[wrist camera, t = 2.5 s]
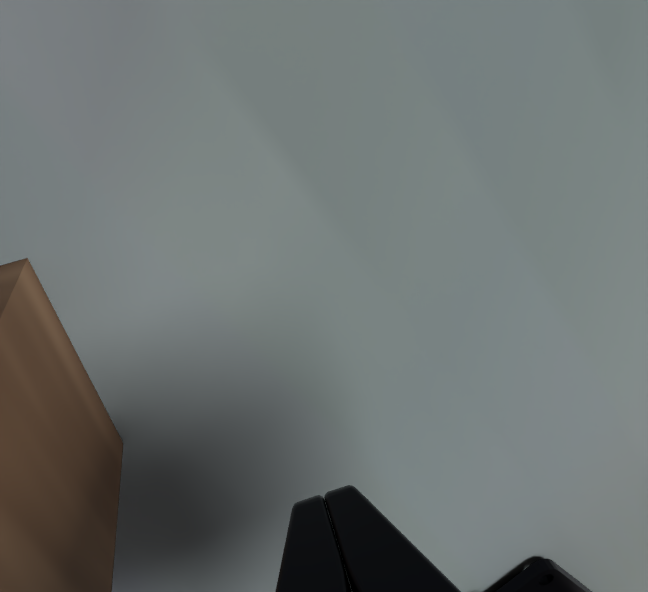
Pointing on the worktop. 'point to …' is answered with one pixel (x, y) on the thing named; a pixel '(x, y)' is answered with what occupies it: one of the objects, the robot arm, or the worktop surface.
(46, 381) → the brown rectangular block
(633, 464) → the worktop surface
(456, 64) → the worktop surface
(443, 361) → the worktop surface
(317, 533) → the robot arm
